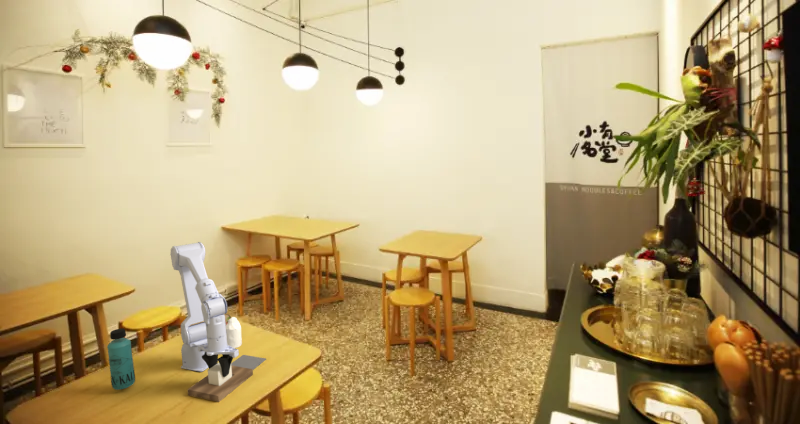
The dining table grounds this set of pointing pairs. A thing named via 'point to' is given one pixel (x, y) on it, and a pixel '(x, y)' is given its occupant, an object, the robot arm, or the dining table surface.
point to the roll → (233, 333)
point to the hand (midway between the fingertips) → (220, 374)
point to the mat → (248, 361)
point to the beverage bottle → (120, 360)
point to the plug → (218, 375)
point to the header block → (220, 392)
